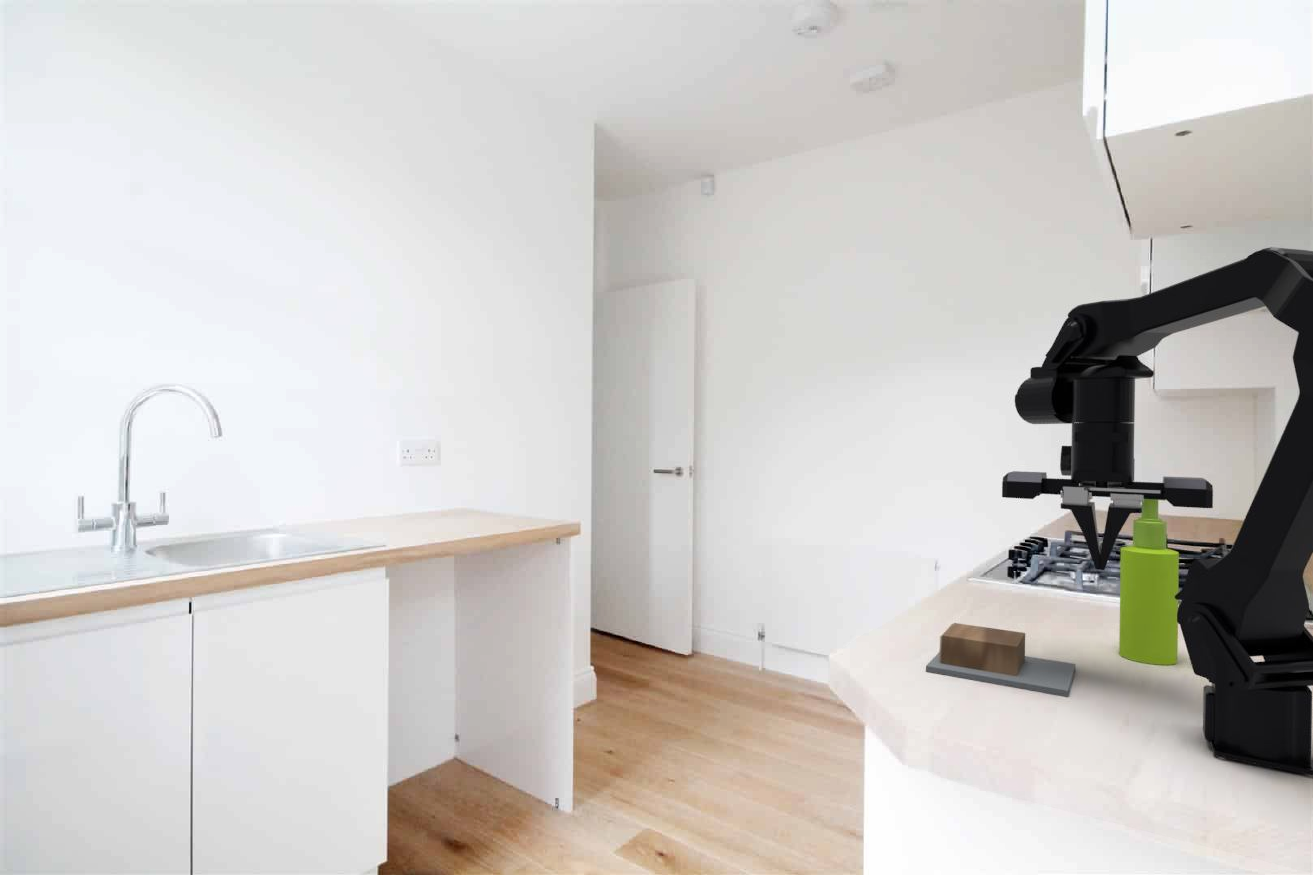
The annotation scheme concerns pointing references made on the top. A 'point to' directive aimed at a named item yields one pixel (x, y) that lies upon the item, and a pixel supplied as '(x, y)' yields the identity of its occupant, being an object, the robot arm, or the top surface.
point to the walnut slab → (983, 648)
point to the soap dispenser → (1149, 592)
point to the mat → (1031, 675)
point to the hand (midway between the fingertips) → (1100, 569)
